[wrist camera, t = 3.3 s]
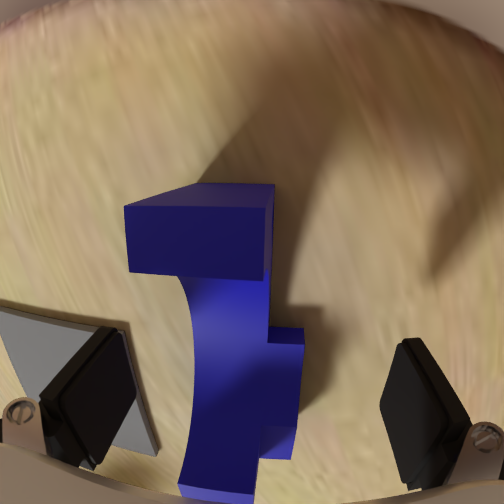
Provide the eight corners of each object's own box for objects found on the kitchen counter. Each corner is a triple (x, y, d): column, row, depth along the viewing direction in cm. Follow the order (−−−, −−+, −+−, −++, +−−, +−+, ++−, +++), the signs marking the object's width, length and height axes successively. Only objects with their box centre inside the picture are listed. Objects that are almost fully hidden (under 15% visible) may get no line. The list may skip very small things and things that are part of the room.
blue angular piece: (291, 417, 15) (288, 510, 9) (209, 410, 15) (182, 498, 10) (314, 186, 11) (343, 212, 6) (197, 182, 12) (123, 206, 6)
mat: (124, 331, 14) (119, 337, 14) (158, 450, 17) (156, 457, 16) (-3, 305, 15) (-9, 308, 15) (41, 412, 18) (38, 416, 18)
